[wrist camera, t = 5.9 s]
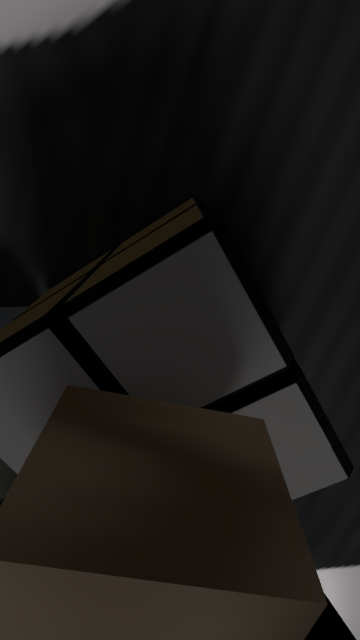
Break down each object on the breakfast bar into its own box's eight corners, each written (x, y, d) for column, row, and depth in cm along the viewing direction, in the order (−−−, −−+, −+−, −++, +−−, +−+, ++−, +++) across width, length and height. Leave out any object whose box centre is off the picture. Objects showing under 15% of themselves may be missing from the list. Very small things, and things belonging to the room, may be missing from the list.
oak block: (55, 520, 10) (-19, 721, 6) (67, 384, 8) (-29, 557, 4) (215, 543, 10) (234, 744, 7) (263, 419, 8) (327, 604, 5)
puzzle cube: (280, 343, 20) (362, 481, 11) (143, 411, 22) (116, 575, 13) (198, 192, 17) (216, 208, 8) (46, 290, 19) (-82, 395, 10)
